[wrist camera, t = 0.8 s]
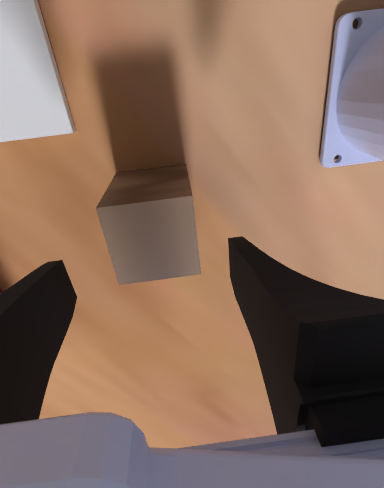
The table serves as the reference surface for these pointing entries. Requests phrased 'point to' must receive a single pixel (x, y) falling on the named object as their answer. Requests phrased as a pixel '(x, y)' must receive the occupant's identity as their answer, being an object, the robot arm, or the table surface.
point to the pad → (29, 76)
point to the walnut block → (150, 224)
